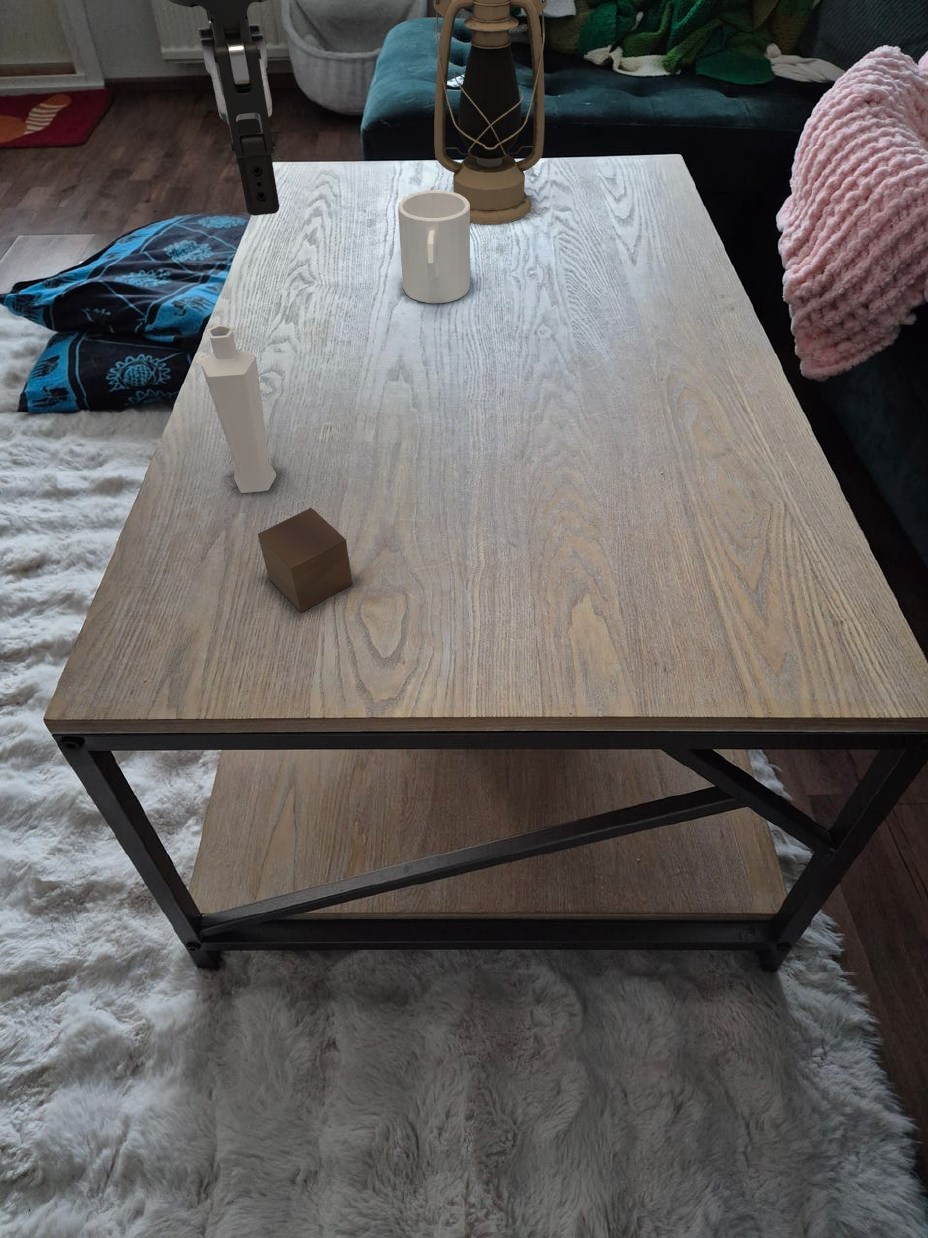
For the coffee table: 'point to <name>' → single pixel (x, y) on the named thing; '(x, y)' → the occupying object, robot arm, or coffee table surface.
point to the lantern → (490, 107)
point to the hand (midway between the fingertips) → (258, 188)
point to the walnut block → (306, 559)
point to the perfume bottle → (239, 408)
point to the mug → (435, 245)
